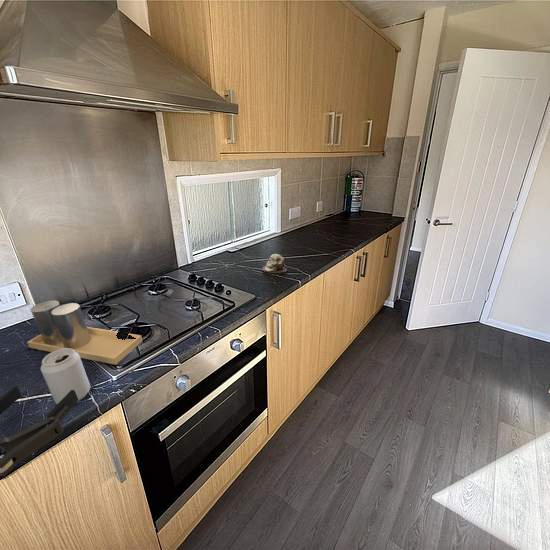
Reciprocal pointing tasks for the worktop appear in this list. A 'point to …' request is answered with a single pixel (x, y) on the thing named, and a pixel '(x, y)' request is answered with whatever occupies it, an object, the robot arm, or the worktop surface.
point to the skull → (275, 264)
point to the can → (65, 374)
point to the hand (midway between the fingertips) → (46, 392)
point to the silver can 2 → (71, 325)
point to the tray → (96, 346)
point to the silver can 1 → (46, 322)
